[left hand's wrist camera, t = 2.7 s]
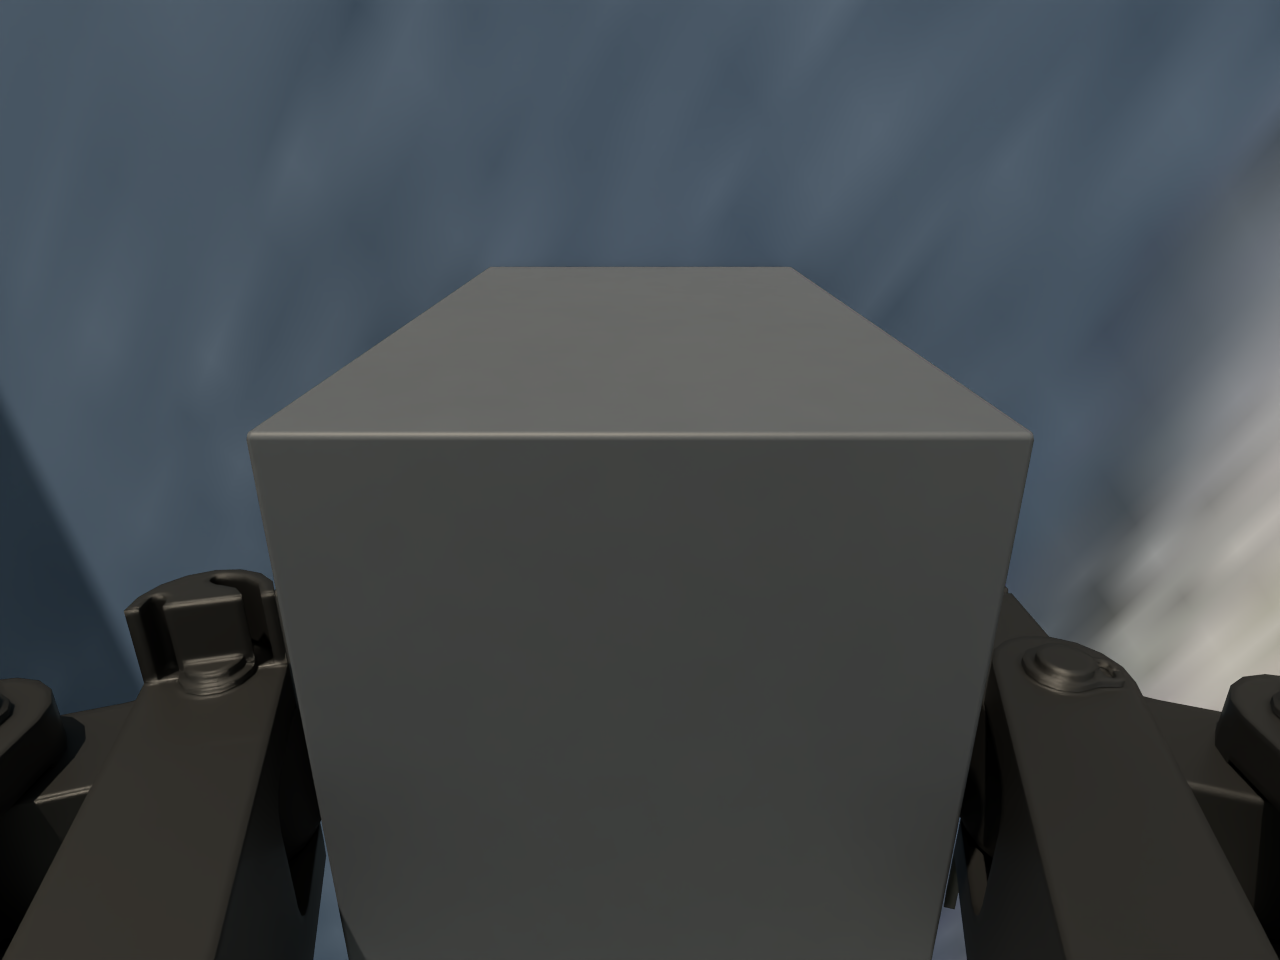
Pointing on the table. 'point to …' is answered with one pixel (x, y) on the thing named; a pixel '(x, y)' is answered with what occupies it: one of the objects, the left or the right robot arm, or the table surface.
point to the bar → (640, 619)
